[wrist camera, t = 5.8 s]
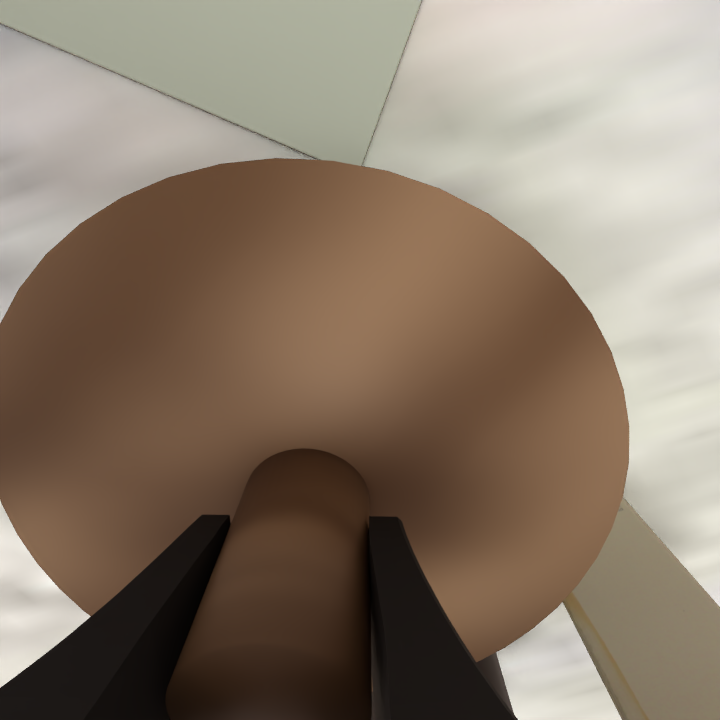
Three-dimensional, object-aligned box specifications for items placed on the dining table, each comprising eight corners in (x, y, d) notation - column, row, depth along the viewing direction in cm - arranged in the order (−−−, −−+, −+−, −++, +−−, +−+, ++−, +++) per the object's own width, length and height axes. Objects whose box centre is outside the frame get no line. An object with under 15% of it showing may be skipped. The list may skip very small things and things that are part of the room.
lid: (-91, 484, 11) (-429, 712, 7) (266, -49, 7) (49, -538, 2) (331, 725, 15) (315, 980, 10) (730, 474, 11) (1019, 712, 6)
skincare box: (515, 511, 20) (711, 910, 9) (605, 471, 20) (949, 852, 8) (566, 602, 22) (784, 1033, 11) (650, 569, 21) (984, 994, 10)
